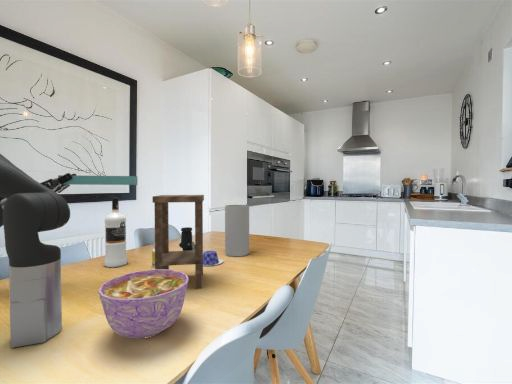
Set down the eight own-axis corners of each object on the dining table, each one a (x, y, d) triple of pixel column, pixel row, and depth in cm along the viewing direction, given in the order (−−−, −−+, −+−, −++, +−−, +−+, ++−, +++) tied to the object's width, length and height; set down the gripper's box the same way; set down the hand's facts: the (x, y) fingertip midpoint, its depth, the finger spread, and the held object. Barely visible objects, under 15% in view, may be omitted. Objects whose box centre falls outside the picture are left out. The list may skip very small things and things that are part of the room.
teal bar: (58, 184, 87) (58, 175, 87) (63, 184, 90) (63, 175, 90) (134, 184, 91) (134, 176, 90) (137, 184, 94) (137, 176, 93)
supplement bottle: (160, 267, 112) (160, 245, 112) (149, 267, 113) (149, 244, 113) (167, 264, 117) (167, 242, 117) (156, 263, 118) (156, 242, 118)
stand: (153, 292, 86) (152, 196, 86) (162, 275, 102) (161, 195, 101) (202, 288, 89) (202, 196, 88) (204, 273, 105) (203, 194, 104)
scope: (194, 229, 127) (175, 229, 129) (194, 258, 127) (175, 257, 129) (201, 227, 135) (183, 226, 137) (201, 254, 135) (183, 253, 137)
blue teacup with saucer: (202, 268, 112) (202, 256, 111) (192, 262, 122) (192, 250, 122) (227, 264, 118) (227, 252, 118) (216, 258, 128) (216, 247, 128)
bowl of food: (161, 303, 78) (161, 264, 78) (205, 326, 65) (205, 279, 65) (85, 332, 62) (84, 284, 62) (123, 369, 50) (122, 309, 49)
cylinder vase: (221, 255, 131) (220, 206, 131) (230, 250, 143) (230, 204, 143) (244, 257, 128) (244, 206, 127) (252, 251, 140) (252, 205, 139)
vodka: (117, 260, 123) (117, 197, 122) (132, 263, 119) (131, 197, 119) (99, 266, 114) (98, 197, 114) (114, 268, 111) (113, 198, 110)
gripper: (0, 191, 79) (55, 164, 82) (32, 191, 93) (78, 167, 95) (15, 213, 80) (68, 185, 82) (44, 209, 94) (89, 185, 96)
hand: (73, 175), depth 89 cm, fingers closed on teal bar, 3 cm apart
